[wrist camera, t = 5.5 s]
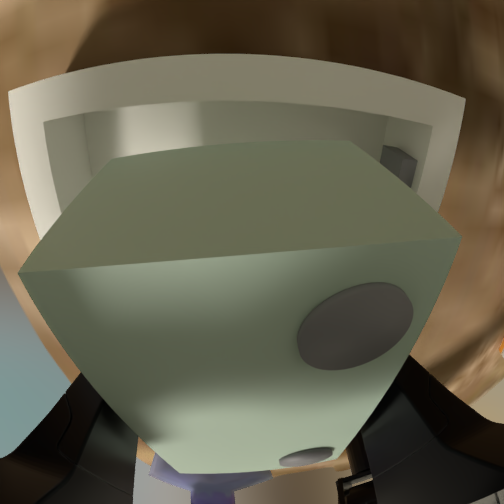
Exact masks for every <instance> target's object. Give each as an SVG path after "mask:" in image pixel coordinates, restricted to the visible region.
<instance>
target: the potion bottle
mask: <svg viewBox="0 0 504 504" xmlns="http://www.w3.org/2000/svg"><path fill="white" fill-rule="evenodd" d="M149 475H150V476H152V477H154V478H156V479H159V480H161V481H163V482H166V483H168V484H171V485H174V486H176V487H180V488H183V489H186V490H189V491H191V504H235V497H234V491H237V490H240V489H243V488H247V487H249V486H253V485H256V484H258V483H262V482H264V481H267V480H270V479H273V476H272V474H271V471H270V470H264V471H254V472H240V473H217V474H186V473H179V472H178V471H176V470H175V469H174V468H173V467H172V466H170V465H169V464H168V463H167V462H166V461H165V460H164V459H162V458H161V457H160V456H159V455H158V454H157V453H156V452H155V455H154V458H153V462H152V465H151V468H150V472H149Z"/></svg>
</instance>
